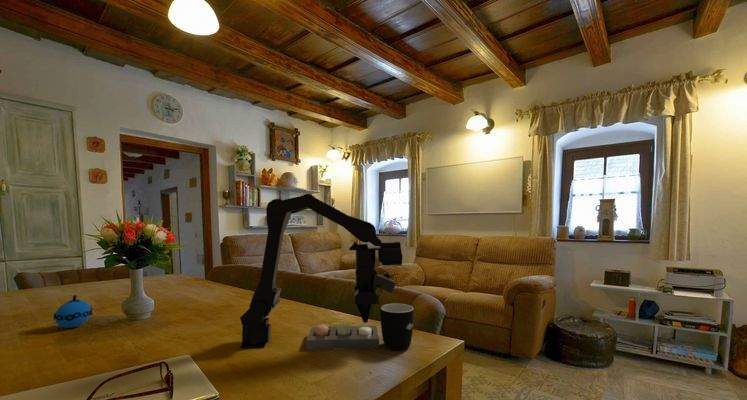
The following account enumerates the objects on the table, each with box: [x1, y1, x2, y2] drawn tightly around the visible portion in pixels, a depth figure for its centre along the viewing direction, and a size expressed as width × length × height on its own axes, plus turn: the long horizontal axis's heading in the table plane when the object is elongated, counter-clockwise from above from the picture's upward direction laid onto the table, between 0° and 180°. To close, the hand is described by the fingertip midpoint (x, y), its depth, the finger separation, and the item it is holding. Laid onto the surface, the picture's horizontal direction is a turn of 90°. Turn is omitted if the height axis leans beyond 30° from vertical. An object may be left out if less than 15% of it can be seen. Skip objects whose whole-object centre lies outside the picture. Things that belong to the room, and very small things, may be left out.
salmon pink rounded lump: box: [314, 323, 330, 336], centre depth 86 cm, size 4×4×3 cm
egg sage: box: [336, 323, 351, 336], centre depth 86 cm, size 4×4×3 cm
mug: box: [379, 303, 415, 352], centre depth 84 cm, size 12×9×10 cm
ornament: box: [53, 294, 93, 329], centre depth 98 cm, size 9×9×10 cm
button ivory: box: [359, 327, 371, 335], centre depth 87 cm, size 4×4×3 cm
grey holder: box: [305, 325, 380, 351], centre depth 86 cm, size 10×19×2 cm, turn 94°
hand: (365, 322), depth 87 cm, fingers closed
